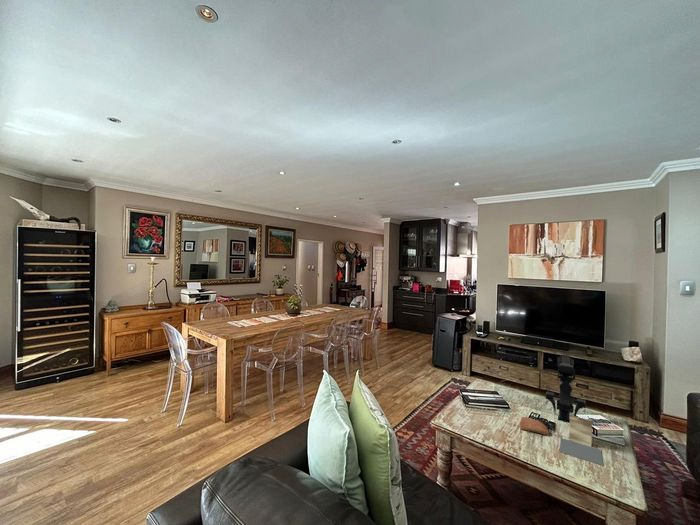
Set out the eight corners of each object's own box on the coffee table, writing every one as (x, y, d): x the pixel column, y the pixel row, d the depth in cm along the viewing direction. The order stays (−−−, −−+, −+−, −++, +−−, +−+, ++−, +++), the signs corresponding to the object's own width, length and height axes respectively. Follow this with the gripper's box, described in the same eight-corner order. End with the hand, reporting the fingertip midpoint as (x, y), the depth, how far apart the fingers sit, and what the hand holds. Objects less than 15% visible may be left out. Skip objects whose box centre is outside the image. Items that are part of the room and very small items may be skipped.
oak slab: (569, 437, 179) (569, 415, 179) (591, 443, 173) (591, 420, 173) (569, 440, 176) (569, 417, 176) (591, 446, 170) (591, 423, 170)
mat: (560, 438, 177) (560, 437, 177) (600, 450, 167) (600, 449, 167) (559, 452, 164) (559, 451, 164) (603, 465, 154) (603, 465, 154)
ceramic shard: (546, 417, 191) (549, 432, 178) (544, 426, 193) (547, 442, 180) (520, 408, 198) (520, 422, 185) (518, 417, 199) (518, 432, 186)
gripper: (545, 387, 176) (544, 414, 176) (586, 396, 165) (585, 425, 165) (546, 381, 185) (546, 407, 185) (585, 389, 174) (584, 417, 174)
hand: (564, 414), depth 177 cm, fingers open, 9 cm apart
